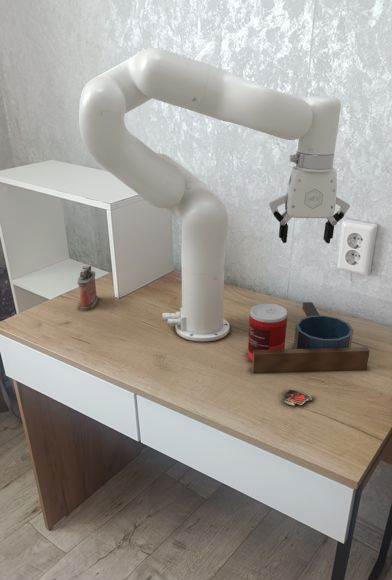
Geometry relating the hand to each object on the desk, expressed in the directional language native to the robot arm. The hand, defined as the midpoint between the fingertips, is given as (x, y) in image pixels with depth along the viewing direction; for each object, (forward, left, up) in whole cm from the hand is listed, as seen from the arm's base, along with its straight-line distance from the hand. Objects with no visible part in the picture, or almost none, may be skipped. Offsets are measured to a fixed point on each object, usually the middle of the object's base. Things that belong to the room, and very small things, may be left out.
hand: (305, 241), depth 124 cm
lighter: (-51, +14, -20) cm, 56 cm away
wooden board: (-2, -21, -20) cm, 30 cm away
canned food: (-10, -16, -20) cm, 28 cm away
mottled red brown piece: (-7, -32, -20) cm, 39 cm away
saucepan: (+2, -10, -20) cm, 23 cm away
